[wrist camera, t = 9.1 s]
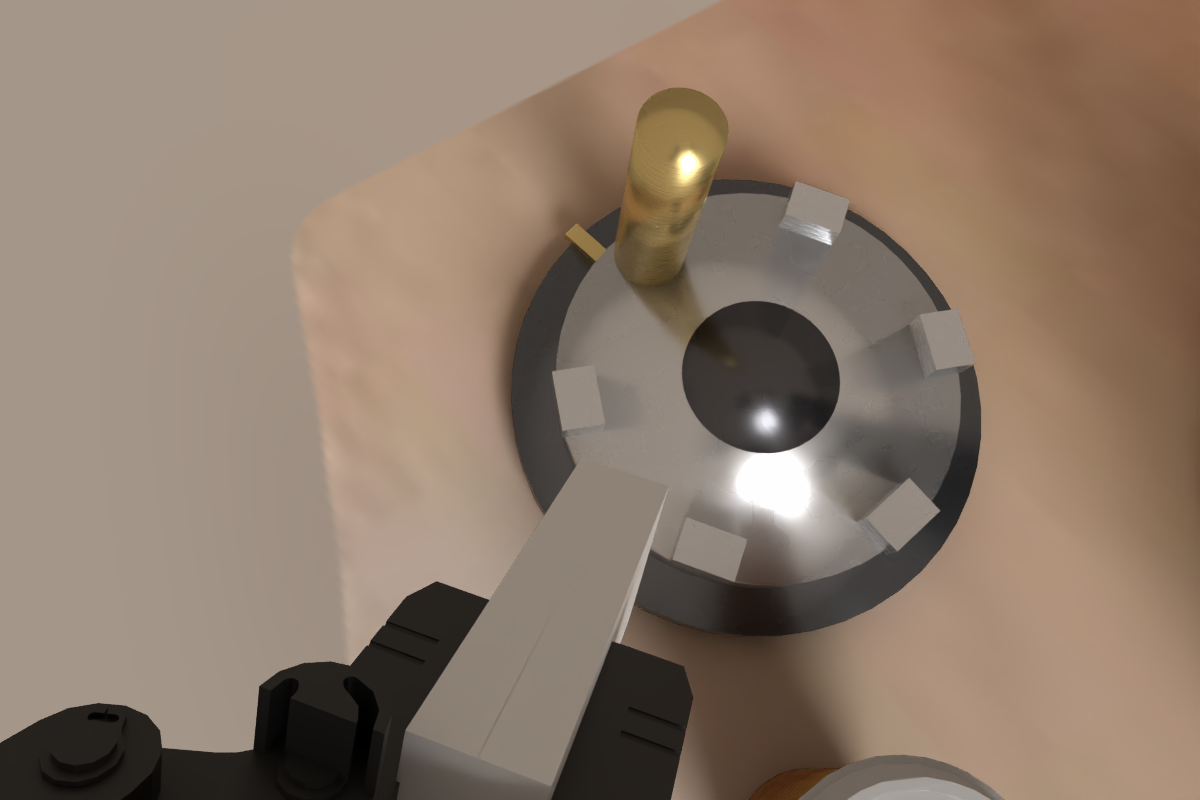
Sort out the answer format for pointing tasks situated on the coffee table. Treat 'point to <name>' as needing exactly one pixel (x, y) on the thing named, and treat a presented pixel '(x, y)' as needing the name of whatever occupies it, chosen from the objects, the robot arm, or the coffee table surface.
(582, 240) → the base plate
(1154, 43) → the coffee table surface
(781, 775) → the disposable coffee cup
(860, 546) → the lugged metal disc
